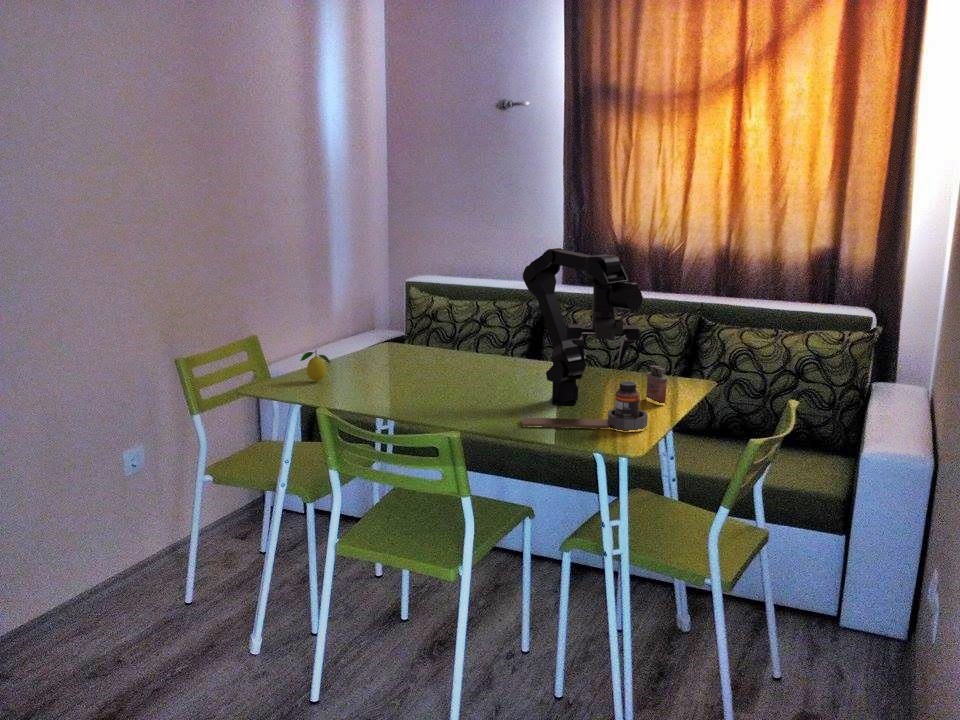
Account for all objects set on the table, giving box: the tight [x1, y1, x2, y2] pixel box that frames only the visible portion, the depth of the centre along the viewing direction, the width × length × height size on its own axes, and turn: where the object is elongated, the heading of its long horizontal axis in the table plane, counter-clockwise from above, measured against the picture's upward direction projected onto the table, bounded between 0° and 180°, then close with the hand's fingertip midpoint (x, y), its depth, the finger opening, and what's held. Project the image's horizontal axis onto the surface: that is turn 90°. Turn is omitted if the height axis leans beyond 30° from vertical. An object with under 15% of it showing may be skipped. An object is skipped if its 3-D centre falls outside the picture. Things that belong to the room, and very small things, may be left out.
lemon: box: [299, 350, 331, 383], centre depth 267 cm, size 7×6×10 cm
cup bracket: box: [521, 408, 649, 431], centre depth 229 cm, size 31×10×4 cm, turn 87°
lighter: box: [645, 365, 669, 403], centre depth 250 cm, size 8×3×10 cm, turn 21°
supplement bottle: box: [614, 380, 641, 418], centre depth 228 cm, size 6×6×11 cm
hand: (601, 364), depth 237 cm, fingers open, 9 cm apart
